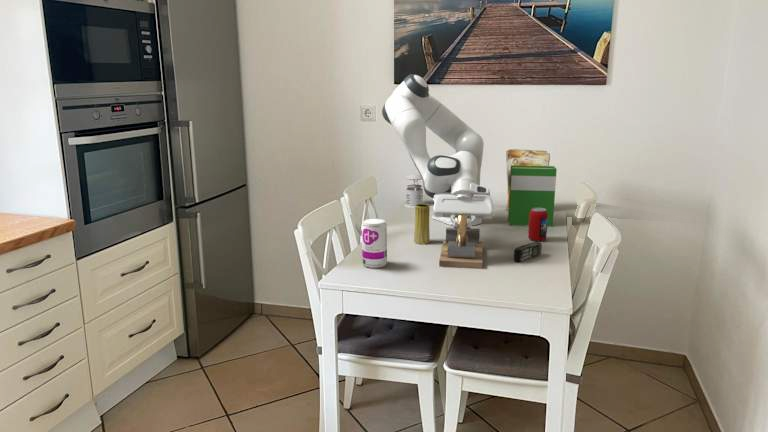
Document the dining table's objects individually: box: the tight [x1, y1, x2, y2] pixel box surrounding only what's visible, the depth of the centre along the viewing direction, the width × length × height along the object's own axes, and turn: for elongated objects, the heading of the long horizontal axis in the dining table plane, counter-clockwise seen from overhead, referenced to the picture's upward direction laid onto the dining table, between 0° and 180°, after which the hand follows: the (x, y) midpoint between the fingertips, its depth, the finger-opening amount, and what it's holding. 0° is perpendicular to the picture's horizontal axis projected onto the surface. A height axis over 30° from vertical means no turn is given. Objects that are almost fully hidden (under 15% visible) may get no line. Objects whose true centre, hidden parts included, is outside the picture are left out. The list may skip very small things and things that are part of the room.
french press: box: [403, 163, 424, 209], centre depth 273 cm, size 10×12×25 cm
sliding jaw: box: [448, 214, 475, 258], centre depth 193 cm, size 6×9×14 cm, turn 81°
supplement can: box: [361, 217, 388, 269], centre depth 191 cm, size 8×8×15 cm
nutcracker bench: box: [438, 227, 483, 269], centre depth 200 cm, size 24×14×7 cm, turn 171°
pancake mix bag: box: [505, 148, 551, 211], centre depth 261 cm, size 7×19×28 cm, turn 71°
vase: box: [413, 203, 431, 245], centre depth 216 cm, size 6×6×14 cm
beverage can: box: [527, 208, 548, 242], centre depth 218 cm, size 7×7×12 cm
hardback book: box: [507, 165, 557, 227], centre depth 240 cm, size 18×7×24 cm, turn 82°
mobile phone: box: [513, 241, 543, 263], centre depth 198 cm, size 5×3×15 cm
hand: (462, 227), depth 192 cm, fingers open, 3 cm apart
